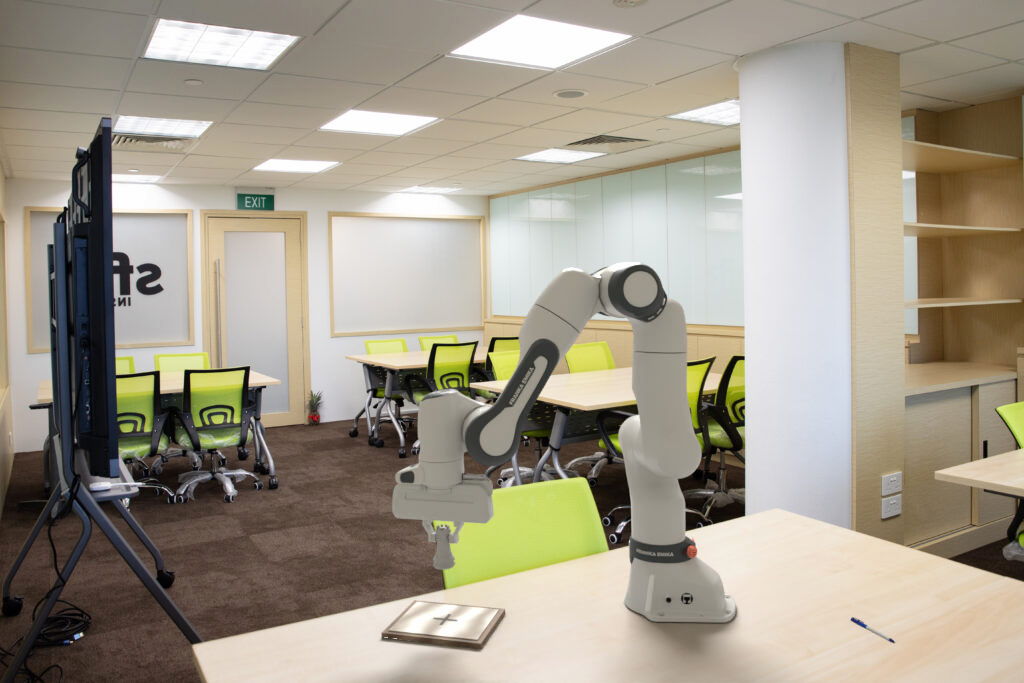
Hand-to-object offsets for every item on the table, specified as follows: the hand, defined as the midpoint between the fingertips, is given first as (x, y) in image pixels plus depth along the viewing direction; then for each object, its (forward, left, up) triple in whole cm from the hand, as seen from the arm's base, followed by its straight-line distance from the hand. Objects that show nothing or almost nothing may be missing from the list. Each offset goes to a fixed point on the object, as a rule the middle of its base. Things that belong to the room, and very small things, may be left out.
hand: (443, 542), depth 149 cm
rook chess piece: (0, 0, -5) cm, 5 cm away
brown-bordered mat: (0, 0, -17) cm, 17 cm away
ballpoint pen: (-80, -16, -17) cm, 83 cm away
